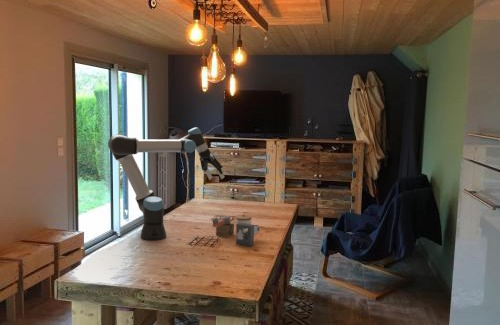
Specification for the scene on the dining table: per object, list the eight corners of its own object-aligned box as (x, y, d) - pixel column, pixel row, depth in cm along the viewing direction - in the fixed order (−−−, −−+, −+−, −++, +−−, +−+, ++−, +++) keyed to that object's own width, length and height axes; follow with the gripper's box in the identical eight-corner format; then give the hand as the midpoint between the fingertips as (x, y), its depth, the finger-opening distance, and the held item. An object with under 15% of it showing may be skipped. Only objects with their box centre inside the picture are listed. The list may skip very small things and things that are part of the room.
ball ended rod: (223, 221, 279) (223, 213, 278) (231, 223, 276) (232, 214, 275) (209, 227, 265) (209, 218, 264) (218, 228, 262) (218, 219, 261)
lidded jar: (249, 231, 286) (250, 216, 285) (233, 229, 288) (233, 215, 287) (252, 226, 296) (253, 213, 295) (237, 225, 298) (237, 211, 297)
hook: (243, 240, 250) (243, 230, 249) (236, 239, 252) (236, 229, 251) (259, 232, 267) (259, 223, 267) (252, 231, 269) (253, 222, 269)
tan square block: (227, 237, 270) (227, 226, 269) (216, 235, 274) (216, 224, 273) (233, 234, 277) (234, 223, 276) (222, 232, 281) (223, 221, 280)
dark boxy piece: (250, 246, 253) (251, 226, 251) (235, 244, 257) (236, 224, 256) (253, 245, 256) (254, 224, 255) (239, 242, 261) (239, 222, 259)
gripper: (218, 146, 280) (232, 175, 286) (196, 148, 299) (209, 175, 305) (210, 151, 276) (224, 181, 282) (188, 154, 295) (202, 181, 301)
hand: (216, 178), depth 293 cm, fingers open, 13 cm apart
